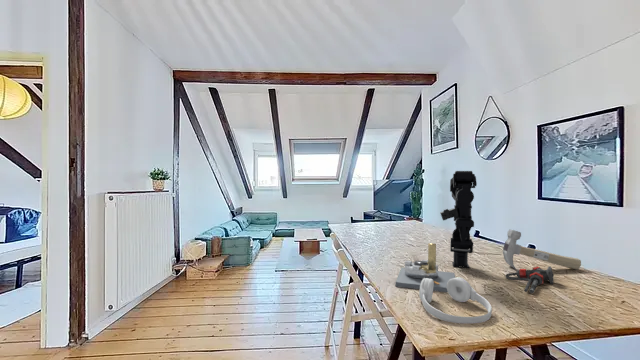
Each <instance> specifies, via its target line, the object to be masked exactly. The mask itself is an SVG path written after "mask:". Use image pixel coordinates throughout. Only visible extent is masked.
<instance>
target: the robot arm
mask: <svg viewBox="0 0 640 360" xmlns="http://www.w3.org/2000/svg"><path fill="white" fill-rule="evenodd" d="M449 180H450V182H449V192H451V197H452V199H453V200H454V202H455V203H454V205H453V206H454V208H450V209H448V208H445V209H443V211H441V212H440V216H441V219H442V221H447V220H448V219H452V218H453V221H454V225H455V229H454V230H453V231H452V237H450V242H449V243H450V244H449V245H450V246H449V250H450V252H451V253H453V261H452V263H451V264H452V267H454V268H467V269H469V268H470V265H469V261H468V260H469V259H468V258H469V255H468V254H473V253H474V242H473V239H472V238H471V234H470V233H471V232H470V231H471V229H472V228H475V222H474V220H473V218H472V217H473V216H472V209H473V205H472V202H473V201H474V200H475V194H474V192H473V190H472V189H476V187H477V184H478V183H477V176H476V175H475V173H473V170H455V172H454V173H453V174H452V178H451V179H449Z"/></svg>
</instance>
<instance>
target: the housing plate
mask: <svg viewBox="0 0 640 360" xmlns="http://www.w3.org/2000/svg"><path fill="white" fill-rule="evenodd" d="M399 270H400V271H399V272H398V275H397V278H396V280H395V287H400V288H408V289H415V290H416V289H417V290H420V284H421V281H422V280H423V279H416V278H412V277H409V276H407V275H405V267H401V268H400V269H399ZM452 278H456V273H455V272H451V271H442V270H441V271H440V270H438V277H437V278H435V279H433V281H434V287H433V292H441V293H448V291H447V282H448V281H449V280H450V279H452Z"/></svg>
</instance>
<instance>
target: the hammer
mask: <svg viewBox="0 0 640 360" xmlns="http://www.w3.org/2000/svg"><path fill="white" fill-rule="evenodd" d="M506 236H507V240H506V241H505V242H504V245H503V248H502V255H503V259H504V261H505V263H506V264H507V265H508V266H509V267H511V268H513V269H515V270H517V267H516V266H515V264H514V255H518V256H519V255H522V256H526V257H529V258H533V259H536V260H539V261H542V262H544V263H545V262H546V263H548V264H552V265H557V266H560V267H565V268H567V269H571V270H575V271H578V270H580V268H581V266H582V260H581V259H580V258H578V257H572V256H565V255H560V254H556V253H552V252H549V251H544V250H540V249H535V248H530V247H526V246H523V245H520V244H517V241H518V240H520V239H521V237H522V232H520V231H518V230H514V229H508V231H507V235H506Z"/></svg>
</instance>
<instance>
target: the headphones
mask: <svg viewBox="0 0 640 360" xmlns="http://www.w3.org/2000/svg"><path fill="white" fill-rule="evenodd" d="M433 287H434V281H433V279H429V278H424V279H423V280H422V281H421V284H420V289H418V290H419V293H418V294H419V295H418V296H419V300H420V301H421V302H422V306H423V307H424V309H425V311H426V312H427V313H428V314H430V315H431V316H432V317H434V318H437V319H439V320H441V321H444V322H449V323H454V324H480V323H485V322H487V321H488V320H490V318H491V317H492V312H493V311H492V309H493V307H492V305H491V303H490V302H489V300H488V299H486V298H485V297H484V296H482V295H480V294H479V293H478V292H477V291H476V290H475V289H474V288H473V287H472V286H471V284H470V283H469V281H467V280H466V279H465V278H463V277H460V276H459V277H456V276H455V278H452V279H450V280H449V281H448V282H447V291H448V292H447V294H448V295H449V296H450V298H452V300H454V301H456V302H459V303H466V302H468V301H469V300H470V301H473V302H475V301H476V302H477V303H479V304H480V305H482V306H483V307H484V308H485V310H487V313H485V314H483V315H478V316H460V315H453V314H449V313H444V312H443V310H442V311H441V310H439V309H437V308H435V307H434V306H432V304H430V303H431V302H432V299H433V293H434V291H433Z"/></svg>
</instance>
